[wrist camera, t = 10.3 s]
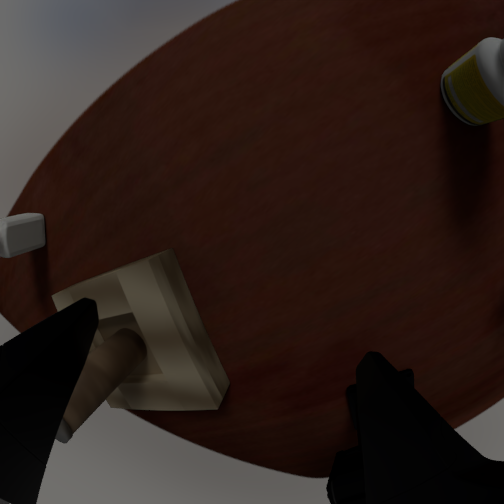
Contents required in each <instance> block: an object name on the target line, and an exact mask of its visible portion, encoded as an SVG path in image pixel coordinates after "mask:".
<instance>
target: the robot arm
mask: <svg viewBox="0 0 504 504" xmlns="http://www.w3.org/2000/svg"><path fill="white" fill-rule="evenodd" d="M98 324H99V316H98V309H97V303H96V301H95V300H93V299H89V298H86V297H84V298H82V299H80V300H78V301H76V302H74V303H73V304H71V305H69V306H67V307H66V308H64V309H62V310H60V311H59V312H57V313H55V314H53V315H52V316H50V317H48V318H46V319H45V320H43V321H41V322H39V323H38V324H36V325H34V326H33V327H31V328H29V329H27V330H26V331H24V332H22V333H21V334H19V335H17V336H16V337H14V338H13V339H11V340H9V341H8V342H6V343H4V344H3V346H2V345H1V346H0V504H9V503H11V504H36V502H37V498H38V494H39V490H40V486H41V482H42V479H43V475H44V472H45V468H46V464H47V461H48V458H49V455H50V452H51V449H52V446H53V443H54V440H55V437H56V435H57V432H58V429H59V426H60V424H61V421H62V418H63V416H64V413H65V410H66V408H67V405H68V403H69V400H70V398H71V396H72V393H73V391H74V388H75V386H76V384H77V381H78V379H79V377H80V374H81V372H82V370H83V368H84V365H85V363H86V360H87V357H88V354H89V351H90V348H91V345H92V342H93V339H94V336H95V333H96V330H97V328H98ZM408 373H410V374H409V375H407V374H408ZM353 389H354V390H353ZM350 390H353V391H350ZM347 394H348V399H349V403H350V408H351V413H352V417H353V422H354V427H355V429H356V430H357V434H358V446H356V447H353V448H350V449H348V450H345V451H343V450H342V451H339V452H337V453H336V457H335V460H334V463H333V467H332V470H331V473H330V476H329V480H328V484H327V487H326V489H327V492H328V494H327V496H328V498H329V500H330V503H331V504H504V461H495V460H490V459H488V458H486V457H484V456H482V455H481V454H480V453H479V452H478V451H477V450H476V449H475V448H473V447H472V446H471V445H470V444H469V443H468V442H467V441H466V440H465V439H463V438H462V437H461V436H460V435H459V434H458V433H457V432H456V431H455V430H454V429H453V428H452V427H451V426H450V425H449V424H448V423H447V422H446V421H445V420H444V419H443V418H442V417H441V416H440V414H439V413H438V412H437V411H436V410H435V409H434V408H433V407H432V406H431V405H430V404H429V403H428V402H427V401H426V400H425V399H424V398H423V397H422V396H421V395H420V394H419V392H418V391H417V390H416V389H415V388H414V373H413V371H412V369H406V370H403V371H400V372H398V371H397V370H396V369H395V368H394V367H393V366H392V365H391V364H390V363H389V362H388V361H387V360H386V359H385V358H384V356H383V355H382V354H381V353H379V352H372V351H370V352H368V353H366V355H365V356H364V358H363V359H362V360H361V362H360V363H359V364H358V366H357V369H356V384H354V385H350V386H349V387H348V388H347Z"/></svg>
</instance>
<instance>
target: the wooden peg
mask: <svg viewBox="0 0 504 504" xmlns="http://www.w3.org/2000/svg"><path fill="white" fill-rule="evenodd" d="M146 355H147V348H146V345H145V342H144V341H143V339H142V338H141V337H140V336H139V335H138V334H137V333H136V332H135V331H133V330H131V329H128V328H122V329H120V330H118V331H117V332H116V333H115V334H113V335H112V336H111V337H109V338H108V339H107V340H106V341H104V342H103V343H102V344H101V345H99V346H98V347H97V348H96V349H94V350H93V351H92V352H91V353H89V354H88V357H87V360H86V363H85V365H84V368H83V370H82V372H81V374H80V377H79V379H78V381H77V384H76V386H75V388H74V391H73V393H72V396H71V398H70V400H69V403H68V405H67V408H66V410H65V413H64V416H63V418H62V421H61V424H60V426H59V429H58V432H57V435H56V437H55V439H57V440H58V441H60V442H62V443H67V442H68V441H69V440H70V439H71V438H72V436H73V433H74V432H75V431H76V430H77V429H78V428H79V427H80V426H81V425H82V424H83V423H84V421H86V420H87V418H88V417H89V416H90V415H91V414H92V413H93V412H94V411H95V410H96V409H97V408H98V407H99V406H100V405H101V404H102V402H104V401H105V400H106V399H107V397H108V396H109V395H110V394H111V393H112V392H113V391H114V390H115V389H116V388H117V387H118V386H119V385H120V384H121V383H122V382H123V381H124V380H125V379H126V377H127V376H128V375H129V374H130V373H131V372H132V371H133V370H134V369H135V368H136V367H137V366H138V365H139V364H140V363H141V362H142V361H143V360H144V359H145V357H146Z"/></svg>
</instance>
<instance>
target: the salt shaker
mask: <svg viewBox="0 0 504 504" xmlns="http://www.w3.org/2000/svg"><path fill="white" fill-rule="evenodd" d="M45 242H46V241H45V226H44V216H43V215H42V214H38V213H25V214H20V215H15V216H10V217H6V218H1V219H0V256H1V257H4V258H10V257H13V256H16V255H19V254H22V253H25V252H28V251H31V250H34V249H38V248H41V247H43V246H44V245H45Z"/></svg>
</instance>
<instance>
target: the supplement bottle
mask: <svg viewBox="0 0 504 504" xmlns="http://www.w3.org/2000/svg"><path fill="white" fill-rule="evenodd" d="M441 91H442V95H443V98H444V100H445V102H446V104H447V106H448V107H449V109H450V110H451V111H452V113H453V114H454V115H455V116H456V117H457V118H459V119H460V120H461V121H463V122H465V123H467V124H469V125H474V126H478V125H483V124H487V123H490V122H493V121H497V120H500V119H504V39H503V40H501V39H498V38H486V39H484V40H482V41H481V42H480V43H478V44H477V45H476V46H475V47H473V48H472V49H471V50H470V51H468V52H467V53H466V54H465V55H463V56H462V57H461V58H460V59H458V60H457V61H456V62H455V63H453V64H452V65H451V66H450V67H449V68H447V69H446V70H445V72H444V73H443V75H442V78H441Z"/></svg>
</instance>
